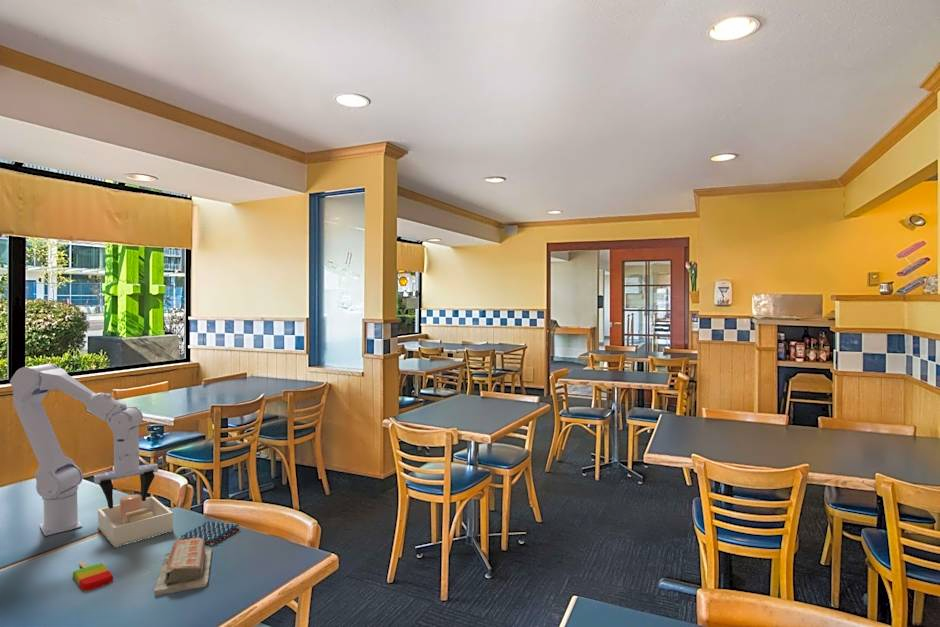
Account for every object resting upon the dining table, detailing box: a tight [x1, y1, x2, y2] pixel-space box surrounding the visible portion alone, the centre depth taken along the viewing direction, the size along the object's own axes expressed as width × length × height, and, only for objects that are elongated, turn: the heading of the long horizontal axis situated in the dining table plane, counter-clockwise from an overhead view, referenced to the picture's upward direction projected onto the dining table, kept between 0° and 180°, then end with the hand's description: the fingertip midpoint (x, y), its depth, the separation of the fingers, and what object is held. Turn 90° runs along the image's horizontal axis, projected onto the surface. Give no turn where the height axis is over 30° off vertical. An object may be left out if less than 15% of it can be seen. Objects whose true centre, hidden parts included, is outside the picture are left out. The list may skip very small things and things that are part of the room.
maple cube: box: [125, 508, 153, 524], centre depth 141 cm, size 5×5×5 cm
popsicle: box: [72, 560, 114, 592], centre depth 120 cm, size 6×15×2 cm, turn 47°
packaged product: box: [153, 537, 213, 597], centre depth 121 cm, size 18×5×10 cm
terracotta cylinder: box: [119, 494, 142, 525], centre depth 146 cm, size 5×5×7 cm
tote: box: [97, 496, 174, 548], centre depth 143 cm, size 17×13×5 cm
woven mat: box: [179, 520, 240, 546], centre depth 140 cm, size 10×11×2 cm
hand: (127, 503), depth 146 cm, fingers open, 7 cm apart
